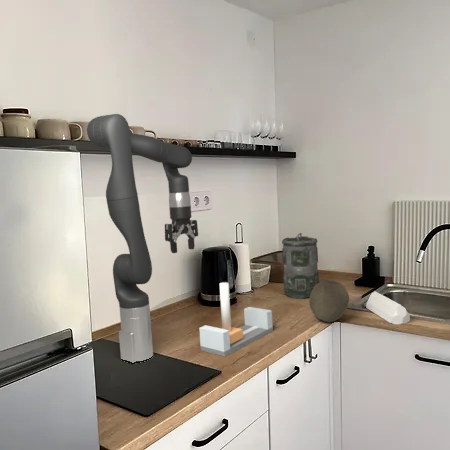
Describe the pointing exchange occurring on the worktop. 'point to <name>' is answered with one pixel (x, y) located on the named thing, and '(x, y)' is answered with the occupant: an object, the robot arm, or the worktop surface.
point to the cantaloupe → (329, 300)
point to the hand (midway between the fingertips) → (183, 251)
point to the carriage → (228, 314)
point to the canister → (300, 266)
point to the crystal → (387, 309)
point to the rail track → (252, 330)
